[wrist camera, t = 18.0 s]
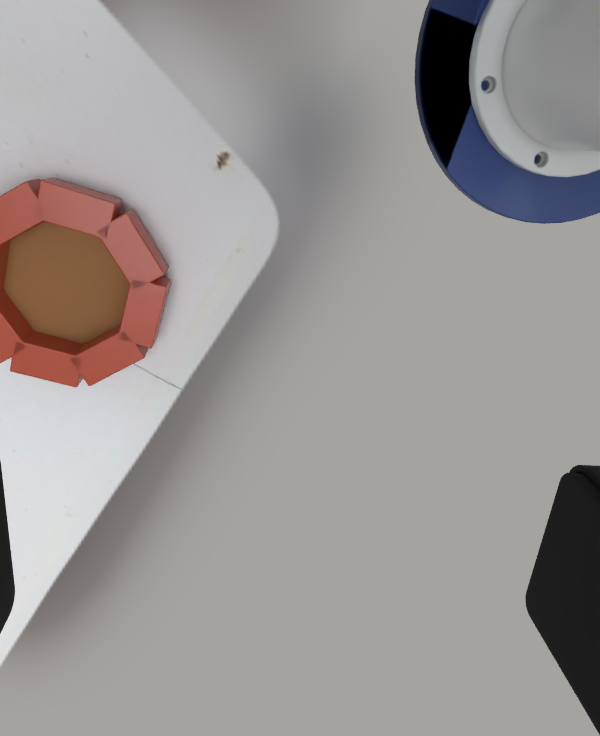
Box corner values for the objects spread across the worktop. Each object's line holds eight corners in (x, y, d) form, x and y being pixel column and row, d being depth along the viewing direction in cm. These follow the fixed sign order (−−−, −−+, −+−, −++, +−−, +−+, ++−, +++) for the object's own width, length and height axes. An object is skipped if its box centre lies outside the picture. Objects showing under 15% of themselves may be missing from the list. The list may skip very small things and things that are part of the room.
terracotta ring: (-18, 155, 31) (-35, 156, 29) (186, 219, 33) (183, 224, 31) (-42, 343, 34) (-58, 355, 32) (143, 389, 36) (138, 403, 35)
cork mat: (15, 205, 32) (13, 206, 32) (142, 240, 33) (141, 241, 33) (0, 322, 34) (-2, 323, 34) (119, 350, 36) (118, 352, 35)
